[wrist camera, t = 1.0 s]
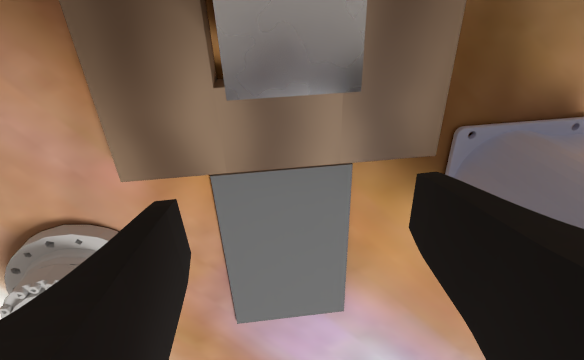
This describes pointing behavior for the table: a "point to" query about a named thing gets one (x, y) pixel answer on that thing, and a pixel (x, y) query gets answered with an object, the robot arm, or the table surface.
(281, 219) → the rubber mat
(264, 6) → the alloy block
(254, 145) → the pocket board
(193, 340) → the table surface
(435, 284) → the table surface
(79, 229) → the mechanical component
